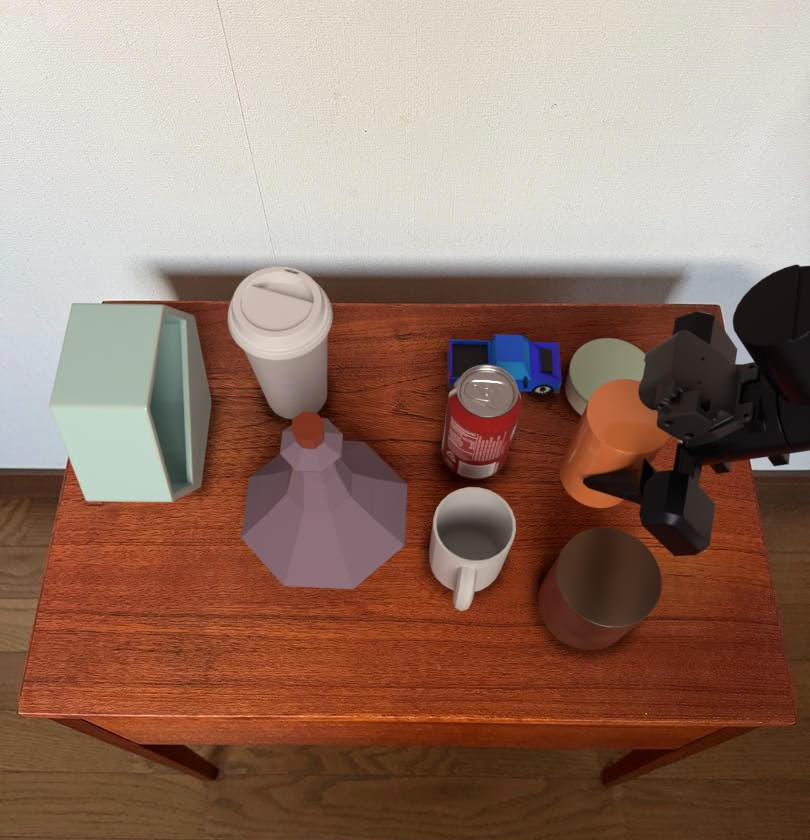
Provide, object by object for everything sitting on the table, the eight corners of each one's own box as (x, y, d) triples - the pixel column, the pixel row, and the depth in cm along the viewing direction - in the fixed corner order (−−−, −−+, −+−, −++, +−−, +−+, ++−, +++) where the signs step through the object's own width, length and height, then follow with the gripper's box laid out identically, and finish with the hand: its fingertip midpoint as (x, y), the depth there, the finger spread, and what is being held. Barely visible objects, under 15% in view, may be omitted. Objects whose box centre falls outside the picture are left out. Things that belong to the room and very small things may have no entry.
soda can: (498, 489, 74) (516, 431, 63) (434, 474, 75) (441, 412, 64) (511, 434, 77) (532, 368, 66) (449, 419, 78) (459, 351, 66)
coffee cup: (359, 390, 79) (353, 297, 65) (298, 449, 76) (278, 364, 62) (295, 342, 81) (276, 242, 67) (233, 397, 78) (200, 305, 64)
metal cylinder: (637, 573, 71) (668, 541, 63) (624, 661, 68) (654, 639, 60) (547, 550, 72) (566, 516, 64) (529, 636, 69) (547, 611, 61)
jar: (650, 366, 81) (660, 348, 78) (639, 434, 77) (649, 419, 74) (570, 347, 81) (577, 329, 78) (556, 414, 78) (562, 398, 75)
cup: (504, 530, 73) (519, 492, 65) (495, 627, 69) (509, 600, 61) (433, 520, 73) (438, 481, 65) (419, 616, 69) (423, 588, 61)
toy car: (557, 404, 79) (567, 377, 74) (446, 400, 78) (449, 374, 74) (554, 352, 81) (563, 324, 77) (446, 349, 81) (449, 320, 76)
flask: (379, 435, 77) (376, 311, 58) (435, 575, 71) (451, 486, 52) (227, 482, 74) (173, 368, 56) (272, 631, 68) (228, 558, 50)
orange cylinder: (645, 463, 65) (687, 403, 56) (614, 521, 63) (652, 468, 54) (579, 429, 66) (609, 365, 57) (546, 485, 64) (572, 427, 55)
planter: (214, 480, 79) (153, 513, 59) (143, 479, 79) (57, 512, 59) (208, 319, 76) (142, 296, 56) (134, 318, 76) (40, 294, 56)
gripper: (760, 229, 49) (563, 300, 60) (728, 468, 42) (511, 498, 53) (817, 331, 55) (629, 378, 66) (797, 553, 48) (591, 564, 59)
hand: (593, 447), depth 61 cm, fingers closed on orange cylinder, 6 cm apart
